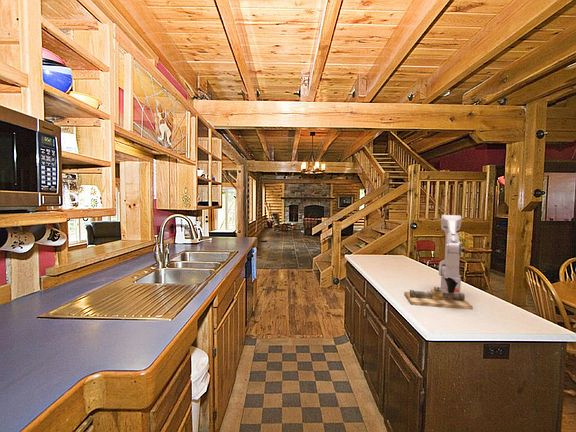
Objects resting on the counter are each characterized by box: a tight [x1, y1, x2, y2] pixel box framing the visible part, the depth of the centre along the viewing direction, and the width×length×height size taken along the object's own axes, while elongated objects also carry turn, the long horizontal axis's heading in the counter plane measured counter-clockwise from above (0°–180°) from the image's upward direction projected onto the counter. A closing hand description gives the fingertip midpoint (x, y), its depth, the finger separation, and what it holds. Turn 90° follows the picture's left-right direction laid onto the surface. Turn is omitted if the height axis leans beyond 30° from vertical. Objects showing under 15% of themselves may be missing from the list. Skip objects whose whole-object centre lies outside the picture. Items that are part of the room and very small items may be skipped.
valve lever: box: [433, 286, 459, 292], centre depth 153 cm, size 11×2×1 cm, turn 76°
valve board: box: [403, 288, 473, 310], centre depth 154 cm, size 28×16×6 cm, turn 80°
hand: (450, 293), depth 150 cm, fingers closed
